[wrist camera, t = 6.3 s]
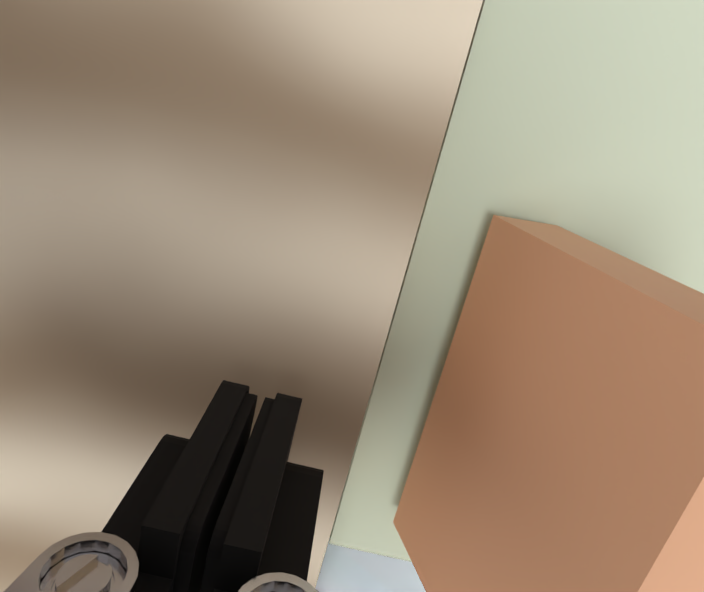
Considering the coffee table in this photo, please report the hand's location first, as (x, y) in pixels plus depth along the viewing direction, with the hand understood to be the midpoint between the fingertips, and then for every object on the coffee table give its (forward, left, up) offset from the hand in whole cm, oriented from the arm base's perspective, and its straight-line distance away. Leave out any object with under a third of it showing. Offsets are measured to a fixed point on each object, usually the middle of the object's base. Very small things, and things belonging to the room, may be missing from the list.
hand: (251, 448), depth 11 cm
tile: (0, +6, -1) cm, 6 cm away
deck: (0, -4, -5) cm, 6 cm away
